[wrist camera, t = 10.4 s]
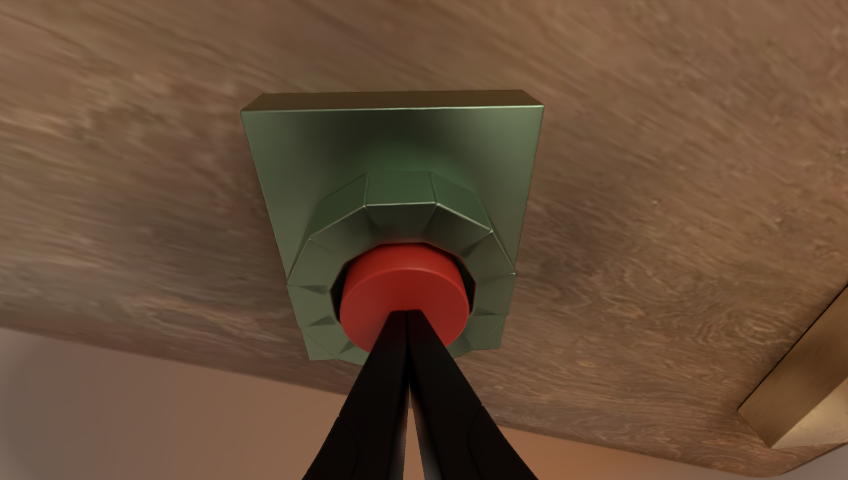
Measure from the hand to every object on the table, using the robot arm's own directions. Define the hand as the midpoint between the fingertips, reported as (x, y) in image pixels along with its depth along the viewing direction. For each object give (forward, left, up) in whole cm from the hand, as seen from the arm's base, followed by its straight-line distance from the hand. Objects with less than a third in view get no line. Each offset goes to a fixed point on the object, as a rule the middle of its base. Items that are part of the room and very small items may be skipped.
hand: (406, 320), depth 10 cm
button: (0, 0, -2) cm, 2 cm away
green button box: (0, 0, -5) cm, 5 cm away
